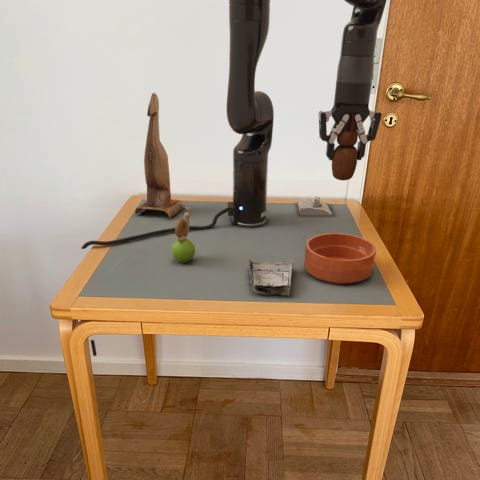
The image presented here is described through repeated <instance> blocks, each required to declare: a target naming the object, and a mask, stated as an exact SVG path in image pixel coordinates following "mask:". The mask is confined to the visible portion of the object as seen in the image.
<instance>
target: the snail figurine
mask: <svg viewBox="0 0 480 480" xmlns="http://www.w3.org/2000/svg"><path fill="white" fill-rule="evenodd" d="M184 210H188V211H185V212H184V214H183V217H184V218H179V219H177V221H176V223H175V227H174V228H175V231H174V232H175V236H176V237H177V238H176V240H175V241H174V243H173V244H172V245H171V254H172V257H173V258H174V259H175V260H176V261H178V262H180V263H187V262H189V261H191V260H192V259H193V258H194V257H195V254H196V246H195V245H194V243H193V242H192V241H191V240H190V239H188V238H187V237H188V235H189V232H190V230H189V226H190V223H191V221H190V217H191V214H190V212H189V211H190V210H191V208H190V206H185V207H184Z"/></svg>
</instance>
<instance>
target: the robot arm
mask: <svg viewBox="0 0 480 480" xmlns="http://www.w3.org/2000/svg"><path fill="white" fill-rule="evenodd" d="M343 1H344V2H345V3H347V4H348V5H350V6H352V11H351V16H350V20H349V22H347V23H346V24H345V26H344V27H343V30H342V35H341V45H340V51H339V54H340V55H339V60H338V64H337V71H336V79H335V80H336V81H335V88H334V89H335V90H334V91H335V92H334V99H333V106H332V108H331V110H326V111H323V110H320V111H318V135H319V139H321V141H322V142H326V151H325V156H326V157H327V159H328V160H329V161H332V160H333V156H334V150H335V148H336V144H335V141H336V140H337V136H338V135H339V134H340V132H341V130H348V129H349V125H350V121H351V118H352V114H353V112H354V124H353V130H357V133H358V141H357V146H356V149H357V152H358V158H357V161H362V158H364V157H365V155H366V147H367V144H368V143H369V142H372V141H375V140H376V137H377V134H378V130H379V127H380V123H381V119H382V116H383V114H382V112H380V111H378V110H374V111H373V110H370V108H369V105H370V98H371V91H372V84H373V79H374V70H375V54H376V46H377V37H378V30H379V27H380V24H381V22H382V19H383V16H384V15H383V14H384V12H385V8H386V5H387V1H388V0H343ZM228 4H229V5H228V26H229V52H228V53H229V58H228V59H229V61H228V62H229V66H228V82H227V83H228V84H227V93H226V106H225V107H226V109H225V110H226V119H227V122H228V125H229V127H230V129H231V130H232V132H234V133H236V134H237V135H242V136H241V137H240V139H239V141H238V142H237V144H236V145H235V146H234V147H233V150H232V201H227V207H226V208H224V209H222V210H220V211H218V213H216V214H215V215H214V217H213V220H212V222H211V223H209V224H208V225H204V226H203V225H202V226H199V225H189V231H190V230H193V231H201V230H202V231H203V230H209V229H212V228H213V227H215V225H216V224H217V221H218V219H219V218H220V217H221V216H222V215H225V213H227V217H232V224H233V226H240V227H246V228H254V227H255V228H256V227H260V226H262V225H265V224H266V223H267V215H268V212H269V210H268V209H267V199H268V197H267V196H268V195H267V194H268V170H269V169H268V168H269V153H270V151H271V148H272V143H273V133H274V132H273V131H274V117H275V115H274V114H275V113H274V105H273V101H272V99H271V98H270V96H269V95H268V94H267V93H266V92H264V91H261V90H255V89H256V88H255V84H256V80H255V79H256V72H257V66H258V63H259V60H260V57H261V55H262V52H263V49H264V47H265V45H266V42H267V39H268V35H269V30H270V21H271V20H270V14H271V0H228ZM331 117H332V119H333V121H334V123H333V124H332V127H331V129H330V132H329V134H328V129H327V123H328V122H329V121H330V118H331ZM368 118H369V121H370V124H369V127H368V131H367V134H366V130H365V127H364V123H365V121H366V120H367V119H368ZM173 232H175V227H172V228H171V227H170V228H166V229H165V228H164V229H159V230H154V231H149V232H146V233H142V234H137V235H132V236H128V237H124V238H119V239H113V240H107V241H100V240H89V241H86V242H85V243H84V244H83V245H82V246H81V247H80V249H82V250H85V249H87V248H88V247H89V246H92V245H97V246H112V245H117V244H121V243H126V242H130V241H135V240H139V239H143V238H144V239H145V238H148V237H152V236H157V235H162V234H167V233H173ZM90 345H91V350H92V351H91V352H92V356H93V357H96V356H97V349H96V343H95V340H94V339H90Z"/></svg>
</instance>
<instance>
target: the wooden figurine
mask: <svg viewBox="0 0 480 480" xmlns="http://www.w3.org/2000/svg"><path fill="white" fill-rule="evenodd" d="M353 124H354V112H353V114H352V118H351V121H350V125H349V129H348V130H341V132H340V134H339V135H338V136H337V138H336V143H337V144H338V145H337V146H335V147H334V156H333V160H331V173H332V176H333V178H334V179H336V180H337V181H348V180H351V179H352V178H353V177H354V174H355V172H356V169H357V165H358V160H357V158H358V152H357V146H355V145H357V144H358V140H359V137H358V133H357V130H353Z"/></svg>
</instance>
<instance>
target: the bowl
mask: <svg viewBox="0 0 480 480" xmlns="http://www.w3.org/2000/svg"><path fill="white" fill-rule="evenodd" d="M376 254H377V247H376V246H375V244H374V243H373V242H372V241H370V240H368V239H367V238H364V237H361V236H359V235H355V234H350V233H341V232H328V233H321V234H320V233H319V234H317V235H313V236H312V237H310V238H309V239H308V240H307V241H306V242H305V250H304V262H303V267H304V269H305V271H306V272H307V273H308V274H309V275H311V276H313V277H314V278H315V279H317V280H319V281H320V280H321V281H322V282H326V283H330V284H339V285H348V284H355V283H359V282H361V281H364V280H367V279H368V278H369V277H371V275H372V274H373V271H374V266H375V260H376Z"/></svg>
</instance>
